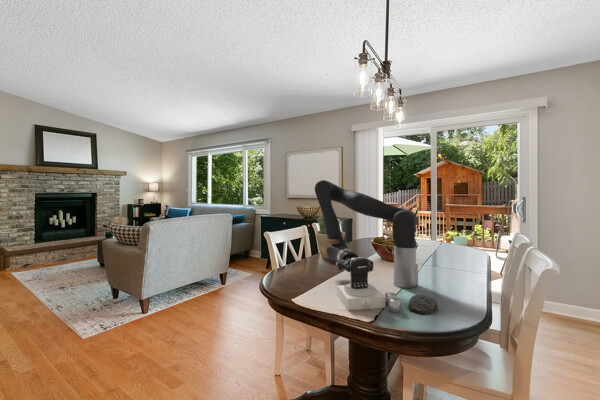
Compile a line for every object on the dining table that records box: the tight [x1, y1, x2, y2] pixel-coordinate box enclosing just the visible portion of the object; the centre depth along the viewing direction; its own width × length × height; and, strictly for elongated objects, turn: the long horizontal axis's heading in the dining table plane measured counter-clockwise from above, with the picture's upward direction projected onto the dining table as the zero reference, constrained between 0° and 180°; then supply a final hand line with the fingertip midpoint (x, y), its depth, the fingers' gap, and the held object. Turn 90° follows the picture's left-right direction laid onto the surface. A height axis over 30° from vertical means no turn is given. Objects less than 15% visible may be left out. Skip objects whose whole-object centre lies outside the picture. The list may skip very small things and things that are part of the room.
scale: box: [336, 283, 386, 311], centre depth 107 cm, size 14×14×5 cm
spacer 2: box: [388, 297, 402, 315], centre depth 98 cm, size 4×4×4 cm
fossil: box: [407, 294, 439, 316], centre depth 102 cm, size 10×13×4 cm
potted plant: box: [315, 216, 346, 260], centre depth 178 cm, size 18×19×25 cm
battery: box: [349, 256, 370, 289], centre depth 107 cm, size 7×4×11 cm, turn 102°
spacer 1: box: [384, 292, 398, 308], centre depth 103 cm, size 4×4×4 cm
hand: (360, 269), depth 106 cm, fingers open, 8 cm apart
